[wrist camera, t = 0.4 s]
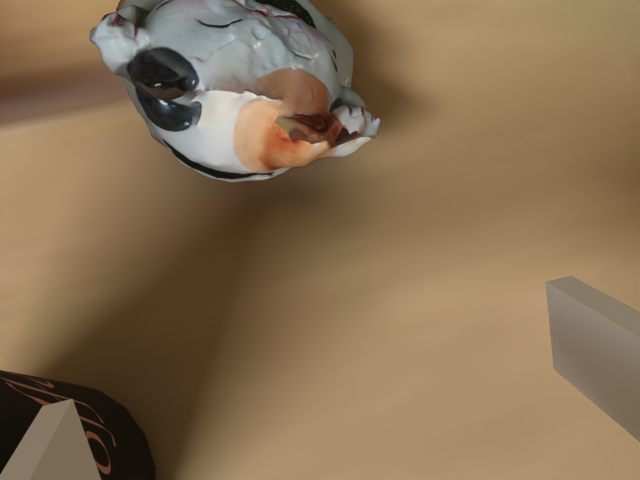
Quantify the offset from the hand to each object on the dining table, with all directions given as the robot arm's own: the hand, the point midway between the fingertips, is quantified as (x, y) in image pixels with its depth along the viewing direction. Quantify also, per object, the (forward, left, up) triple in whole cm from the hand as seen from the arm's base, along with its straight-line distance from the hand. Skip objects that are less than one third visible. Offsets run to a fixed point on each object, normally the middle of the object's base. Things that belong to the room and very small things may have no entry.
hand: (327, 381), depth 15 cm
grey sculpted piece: (+18, -2, -16) cm, 24 cm away
